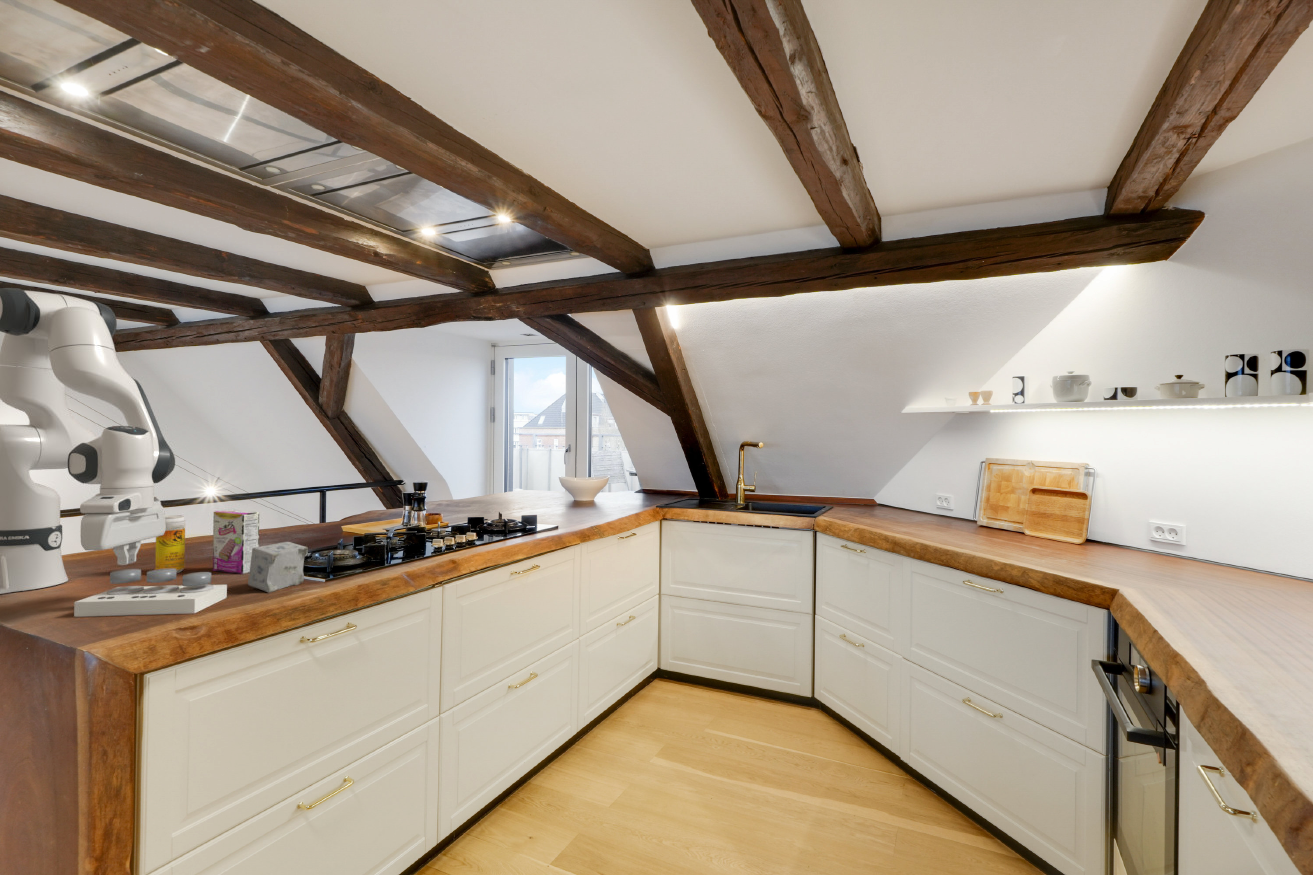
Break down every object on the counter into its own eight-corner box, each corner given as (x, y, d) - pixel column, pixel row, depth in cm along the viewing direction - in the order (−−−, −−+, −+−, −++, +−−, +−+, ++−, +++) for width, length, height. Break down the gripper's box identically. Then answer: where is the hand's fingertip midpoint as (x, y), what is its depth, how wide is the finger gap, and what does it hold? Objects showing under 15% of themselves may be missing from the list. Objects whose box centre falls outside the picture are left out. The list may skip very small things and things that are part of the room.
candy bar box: (211, 571, 159) (212, 511, 159) (229, 567, 164) (230, 509, 164) (242, 574, 156) (243, 513, 156) (259, 570, 161) (260, 511, 161)
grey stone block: (271, 593, 139) (272, 550, 139) (246, 590, 141) (247, 547, 141) (308, 584, 148) (309, 543, 148) (284, 580, 151) (285, 540, 151)
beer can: (167, 575, 154) (168, 518, 154) (149, 573, 155) (150, 517, 155) (190, 570, 160) (191, 515, 160) (172, 568, 161) (173, 514, 161)
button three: (140, 583, 126) (141, 573, 126) (156, 577, 131) (156, 568, 131) (166, 582, 127) (167, 573, 127) (181, 576, 132) (181, 568, 132)
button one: (177, 586, 127) (177, 577, 127) (191, 581, 132) (191, 572, 132) (202, 586, 128) (202, 576, 128) (215, 580, 133) (216, 571, 133)
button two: (103, 583, 125) (103, 574, 125) (121, 578, 130) (121, 569, 130) (130, 583, 126) (130, 573, 126) (146, 577, 131) (146, 568, 131)
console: (74, 616, 119) (74, 600, 119) (118, 600, 131) (118, 585, 131) (194, 613, 123) (194, 597, 123) (226, 597, 135) (226, 582, 135)
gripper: (144, 495, 137) (143, 554, 137) (73, 505, 117) (72, 574, 117) (174, 495, 138) (174, 554, 138) (108, 505, 118) (108, 573, 118)
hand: (126, 563), depth 128 cm, fingers closed
